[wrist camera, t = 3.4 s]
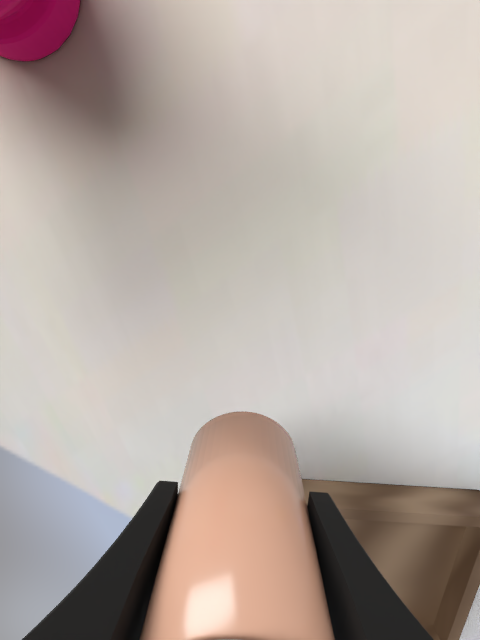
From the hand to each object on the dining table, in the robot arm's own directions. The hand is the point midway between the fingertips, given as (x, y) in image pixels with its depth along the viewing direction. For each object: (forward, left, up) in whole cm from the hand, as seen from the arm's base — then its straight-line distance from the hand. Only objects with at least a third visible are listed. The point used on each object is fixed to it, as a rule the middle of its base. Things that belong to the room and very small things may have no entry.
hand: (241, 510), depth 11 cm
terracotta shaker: (0, 0, -3) cm, 2 cm away
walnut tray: (-8, +14, -9) cm, 19 cm away
